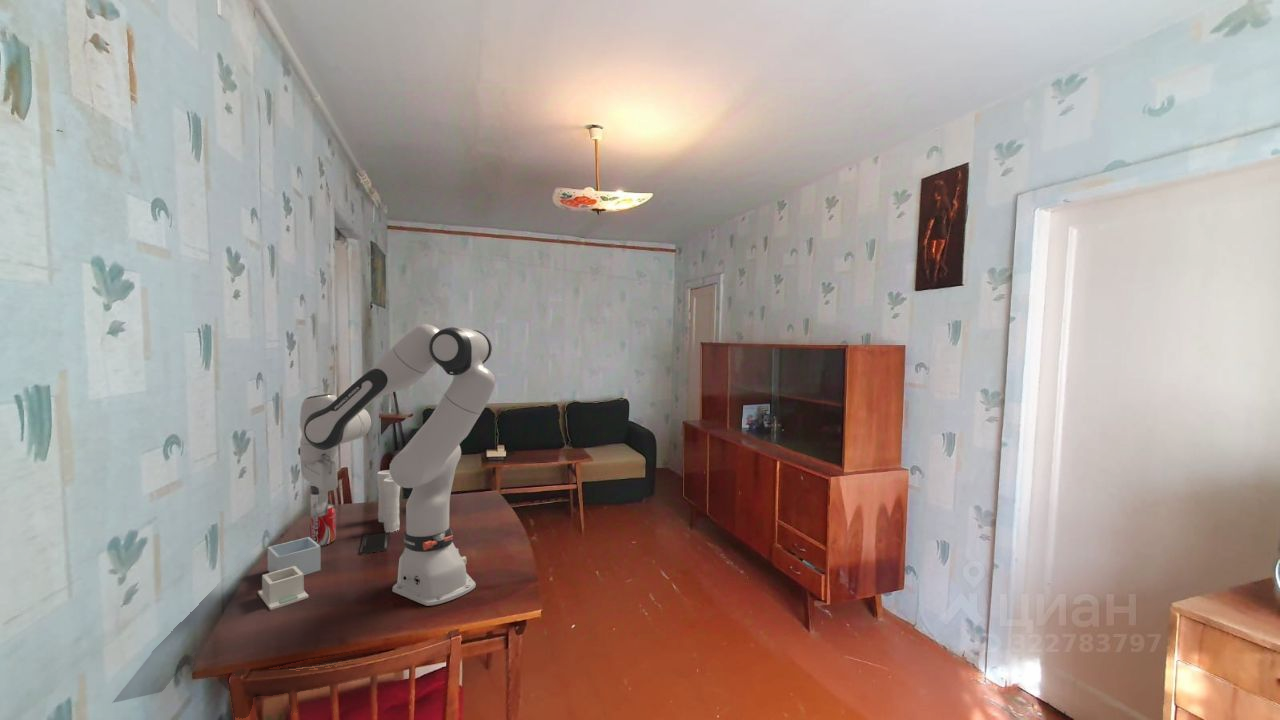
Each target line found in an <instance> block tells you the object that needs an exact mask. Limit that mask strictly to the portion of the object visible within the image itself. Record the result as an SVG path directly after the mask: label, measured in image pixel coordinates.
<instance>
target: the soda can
mask: <svg viewBox="0 0 1280 720" xmlns="http://www.w3.org/2000/svg"><path fill="white" fill-rule="evenodd" d="M309 516H310V517H309V537H310V538H311V539H312V540H314V541H315V542H316V543H317V544H318V545H320V546H321V547H324V546H327V544H328V545H330V544H331V542H332V543H333V542H334V541H335V540H336V535H337V534H336V533H337V530H336V529H337V514H336V509H335V507H334V504H332V503H328V514H327V515H324V516H320V517H312V516H311V513H310V515H309Z"/></svg>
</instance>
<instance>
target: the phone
mask: <svg viewBox="0 0 1280 720" xmlns="http://www.w3.org/2000/svg"><path fill="white" fill-rule="evenodd" d="M389 541H390V533H389V532H385V531H384V532H378V533H377V532H376V533H372V534H371V533H370V534H364V535H363V537H362V540H361V545H360V548H359V555H361V554H364V555H367V554H366V553H370V554H372V553H373V552H377V553H381V552H380V551H384V552H386V550H387V551H389V544H388V543H389Z"/></svg>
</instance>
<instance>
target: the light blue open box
mask: <svg viewBox="0 0 1280 720" xmlns="http://www.w3.org/2000/svg"><path fill="white" fill-rule="evenodd" d="M321 547H322V546H320V545H318V544H317V543H316V542H315V541H314V540H312V539H311V538H310V536H307V537H304V538H303V537H302V538H299V539H295V540H292V541H291V540H290V541H288V542H287V541H286V542H283V543H279V544H274V545H270V546H267V572H268V571H269V572H268V573H271V572H275V571H279V570H282V569H286V568H289V567H293V566H296V567H297V568H298V569H299V570H300V571H301V572H302V573H303V574H304V576H306V575H310V574H313V573H316V572H319V571H322V569H321V566H322V565H321V562H322V561H321V558H322V557H321V556H322V555H321V553H322V551H321V550H322V549H321Z"/></svg>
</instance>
